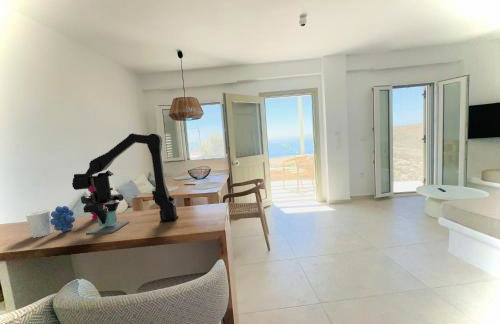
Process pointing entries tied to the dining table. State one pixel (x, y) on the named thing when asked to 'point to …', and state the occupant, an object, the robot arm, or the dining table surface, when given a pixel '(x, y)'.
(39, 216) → the white cup
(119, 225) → the gray mat
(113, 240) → the dining table surface
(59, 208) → the grapes
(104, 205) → the pepper mill
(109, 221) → the teal block
